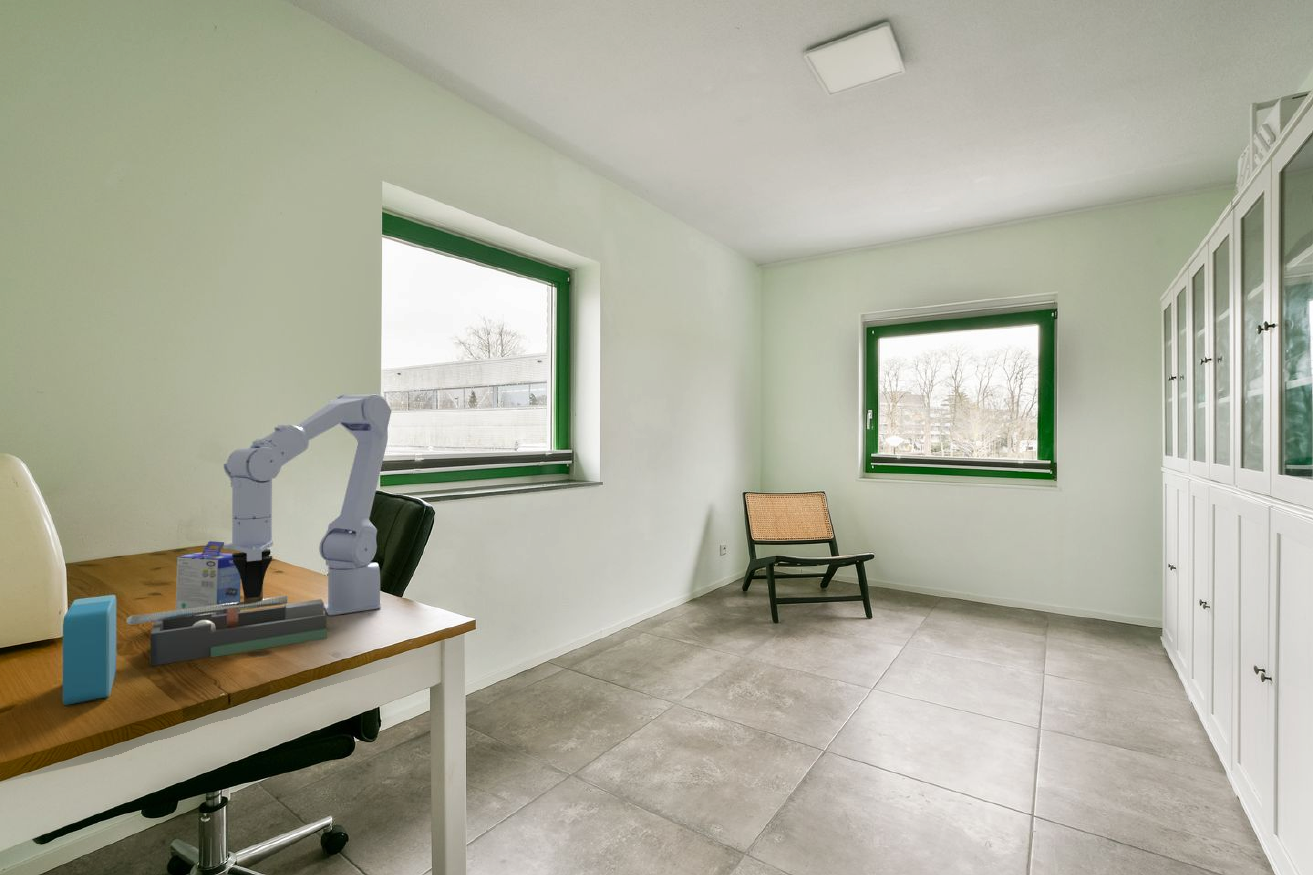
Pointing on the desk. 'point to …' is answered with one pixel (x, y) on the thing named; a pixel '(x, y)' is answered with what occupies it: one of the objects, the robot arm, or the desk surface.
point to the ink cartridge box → (207, 579)
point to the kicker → (210, 610)
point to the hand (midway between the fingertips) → (251, 594)
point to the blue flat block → (89, 649)
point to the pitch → (237, 632)
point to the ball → (206, 623)
